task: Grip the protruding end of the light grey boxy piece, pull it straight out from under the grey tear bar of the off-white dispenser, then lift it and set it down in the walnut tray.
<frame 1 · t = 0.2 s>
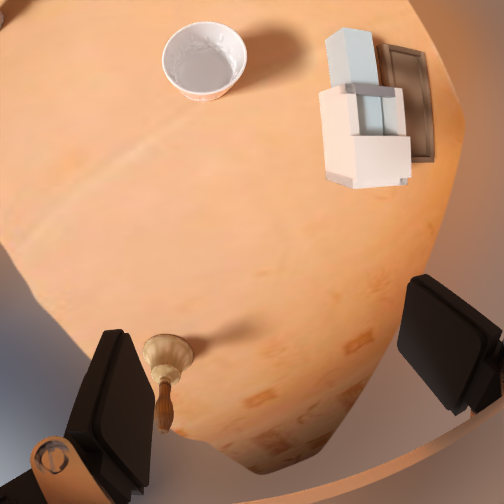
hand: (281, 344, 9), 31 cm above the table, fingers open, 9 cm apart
hand bell: (167, 353, 45), on the table
dispenser: (349, 135, 37), on the table
light grey boxy piece: (343, 86, 35), on the table
white cup: (204, 78, 32), on the table
tray: (405, 104, 37), on the table
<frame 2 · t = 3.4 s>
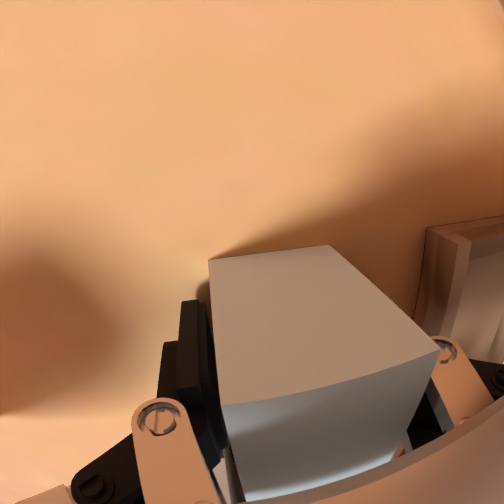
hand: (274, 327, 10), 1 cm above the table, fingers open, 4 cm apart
dispenser: (282, 466, 15), on the table
light grey boxy piece: (276, 396, 12), on the table, touching gripper
tray: (447, 366, 14), on the table
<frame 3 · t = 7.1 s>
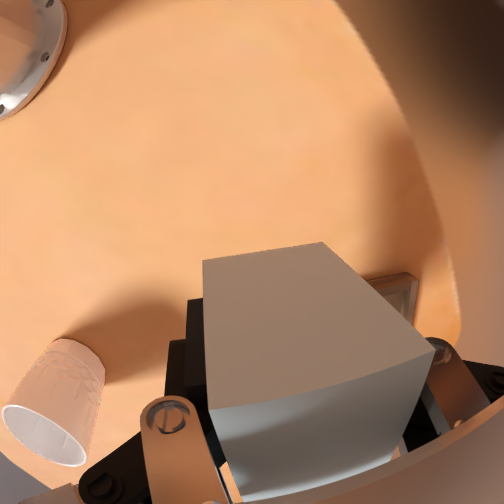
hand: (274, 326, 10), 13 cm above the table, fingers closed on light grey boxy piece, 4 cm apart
light grey boxy piece: (276, 396, 12), point 12 cm above the table, touching gripper
white cup: (76, 363, 25), on the table
tray: (364, 357, 28), on the table
when the fingers open (3 cm above the table, at t = 10.4 s): light grey boxy piece drops 1 cm, resting on tray.
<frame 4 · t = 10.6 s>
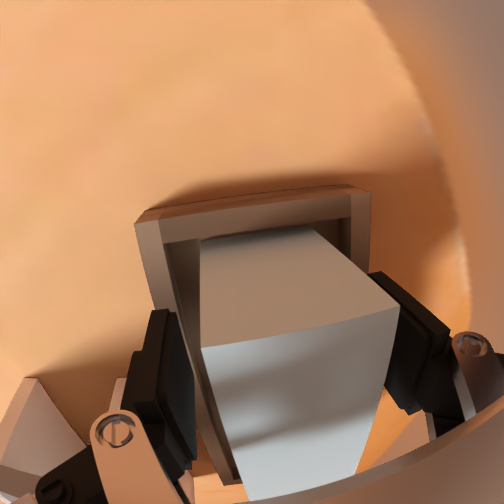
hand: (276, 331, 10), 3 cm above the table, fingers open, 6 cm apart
dispenser: (114, 441, 15), on the table
light grey boxy piece: (270, 374, 13), point 1 cm above the table, touching tray
tray: (268, 373, 14), on the table
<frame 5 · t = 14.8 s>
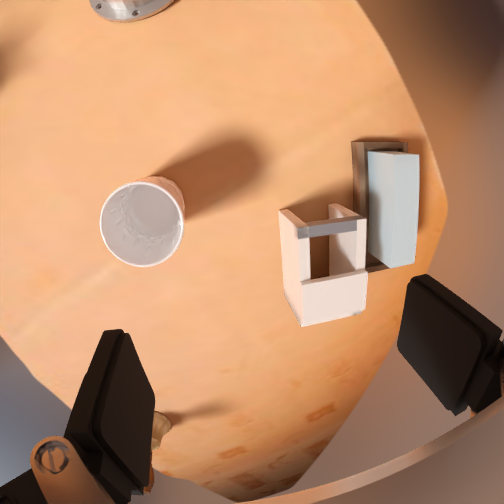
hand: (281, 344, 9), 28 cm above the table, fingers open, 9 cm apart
hand bell: (149, 421, 48), on the table
dispenser: (310, 250, 40), on the table
light grey boxy piece: (381, 201, 38), point 1 cm above the table, touching tray
white cup: (156, 203, 35), on the table
tray: (378, 205, 39), on the table
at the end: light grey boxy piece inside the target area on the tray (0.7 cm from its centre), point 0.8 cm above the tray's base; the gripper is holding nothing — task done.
